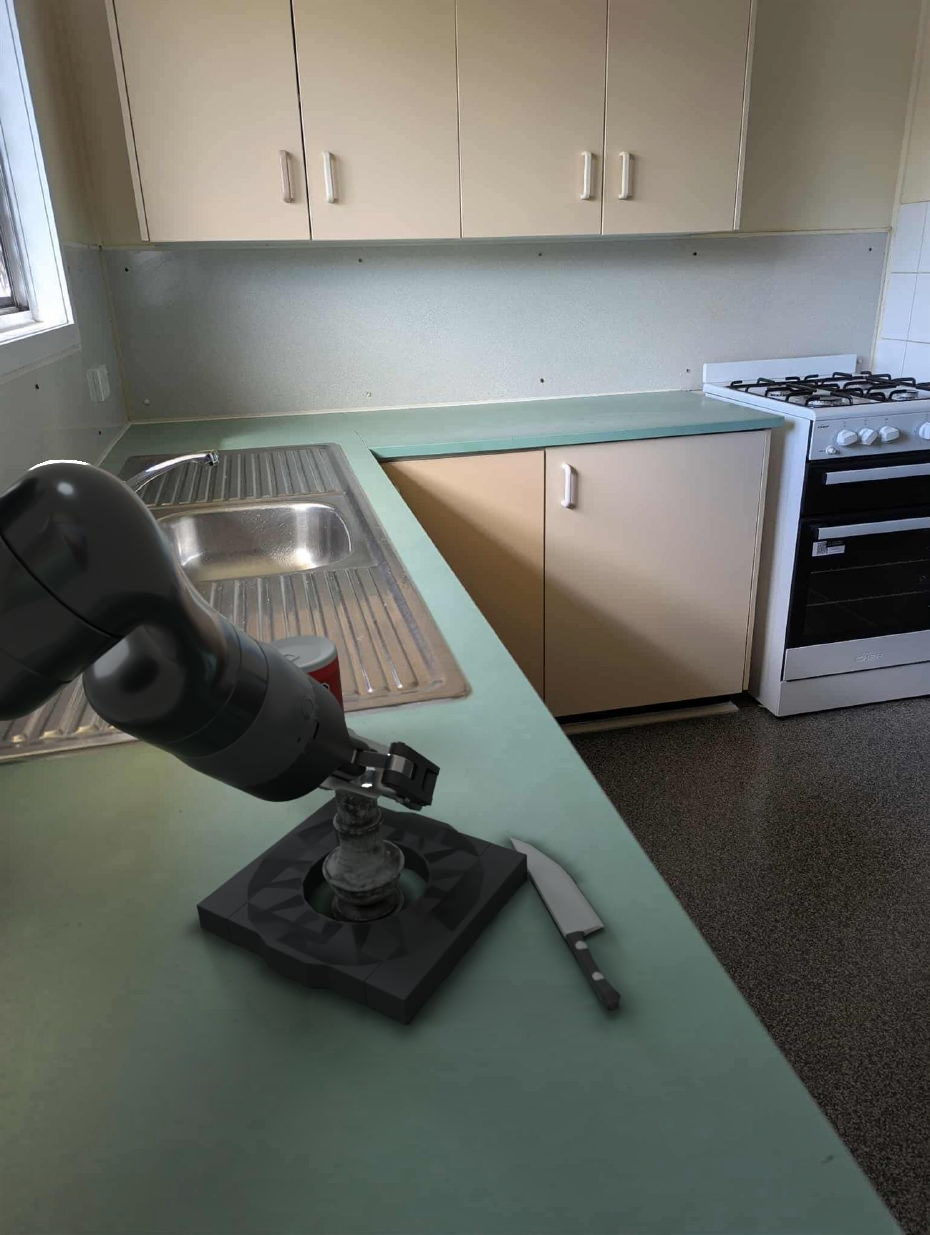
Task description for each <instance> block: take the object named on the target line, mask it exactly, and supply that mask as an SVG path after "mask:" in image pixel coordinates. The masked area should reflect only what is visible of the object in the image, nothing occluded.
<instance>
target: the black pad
mask: <svg viewBox="0 0 930 1235" xmlns="http://www.w3.org/2000/svg"><path fill="white" fill-rule="evenodd" d="M378 807H379V808H380V809H381V810H382V811H383V813H384V820H383V822H382V824H381V833H382V840H386V841H389V842H391V843H393V844H394V845H396V846H397V847H398V848H399V849H400V850H401V851H402V853H403V855H404V867H405V868H408V869H411V870H413V871H415V872H416V874H417V875H419V876H420V877H421V878H422V879H423V880H424V881H426V886H425V889H424V891H423V893H421V894H420V896H418V898H417V899H416V900H415V901H414V902H413V903H412V904H411V905H410V906H409V907H407V908H404V909H402V910H401V911H400V912H399V913H397V914H395V915H393V916H391V917H389V918H385V919H380V920H375V921H370V922H365V923H353V922H340V921H338V920H336V919H332V918H330V917H328V916H325V915H323V914H322V913H321V914H320V913H319V912H316V910H315V909H314V908H313V907H312V906H311V905H310V903H309V900H310V897H311V896H312V893H313V891H314V889H315V888H316V887H317V886H319V885H320V884H321V883H322V882H323V881H324V880H326V879H325V877H324V874H323V870H322V869H323V863H324V861H325V859H326V857H327V856H328V855H329V854H330V853H331V852H332V851H333V850H334V849H336V848H337V847H339V846H340V838H339V831H338V830H337V829H336V828H335V827H334V824H333V820H334V817H335V815H336V814H337V813H338V812H337V803H336V795H334V796H333V797H332V798H331V799H330V800H328V801H327V802H326V803H324V804H323V805H322V806H321V807H320V808H318V809H317V810H316V811H315V812H313V813H312V814H310V816H308V817H307V818H306V819H304V820H303V821H301V823H299V824H297V825H296V826H295V827H294V828H293V829H291V830H290V831H289V832H287V833H286V834H285V835H284V836H282V837H281V838H280V839H279V840H277V841H276V842H275V843H274V844H273V845H271V846H270V847H268V848H267V849H266V850H264V851H263V852H262V853H261V854H259V855H258V856H257V857H256V858H255V859H253V860H252V861H251V862H249V863H248V864H247V865H245V867H243V868H242V869H240V870H239V871H237V873H235V874H233V876H232V877H229V879H228V880H226V881H225V882H224V883H223V884H221V885H220V886H219V887H218V888H216V889H215V890H213V891H212V892H211V893H210V894H208V895H207V896H206V897H205V898H203V899H202V900H201V901H199V903H197V904H196V910H197V915H198V921H199V925H200V928H201V929H204V930H206V931H208V932H210V933H212V934H214V935H216V936H218V937H220V938H223V939H224V940H227V941H229V942H231V943H233V944H236V945H238V946H240V947H242V948H244V949H246V950H248V951H250V952H252V953H255V954H257V955H259V956H261V957H262V958H263V959H264V961H265V962H266V963H267V965H268V966H269V968H270V969H272V970H274V971H275V972H277V973H279V974H282V975H284V976H285V977H288V978H290V979H292V980H294V981H296V982H298V983H301V984H302V985H305V986H307V987H311V988H316V989H330V990H333V991H335V992H337V993H338V994H341V995H343V996H345V997H347V998H350V999H352V1000H354V1001H356V1002H358V1003H360V1004H362V1005H364V1006H367V1007H369V1008H371V1009H373V1010H375V1011H377V1012H379V1013H382V1014H383V1015H386V1016H387V1017H390V1018H392V1019H394V1020H396V1021H398V1022H401V1023H402V1024H404V1025H408V1024H409V1022H411V1020H412V1019H413V1017H414V1016H415V1015H416V1014H417V1013H418V1012H419V1010H420V1009H421V1007H423V1005H424V1004H425V1003H426V1001H427V1000H429V998H430V996H432V994H433V993H434V991H435V990H436V989H437V988H438V987H439V986H440V984H441V983H442V982H443V980H444V979H445V978H446V977H447V976H448V974H449V973H450V972H451V971H452V970H453V969H454V967H455V966H456V965H457V963H458V962H459V961H460V960H461V958H462V957H463V956H464V955H465V953H467V951H468V950H469V948H470V947H471V946H472V945H473V944H474V942H475V941H476V940H477V939H478V938H479V936H480V935H481V934H482V933H483V931H484V930H485V929H486V928H487V926H488V925H489V924H490V923H491V922H492V920H493V919H494V918H495V917H496V916H497V914H498V913H499V912H500V911H501V909H502V908H503V907H504V905H505V904H506V903H507V902H508V901H509V899H510V898H511V897H512V896H513V894H514V893H516V891H517V890H518V888H519V887H520V886H521V885H522V883H524V881H525V880H526V879H527V877H528V875H529V873H528V871H527V854H524V853H521V852H518V851H516V849H511V848H509V847H505V846H502V845H499V844H496V843H494V842H491V841H487V840H485V839H481V838H478V837H476V836H472V835H470V834H467V833H463V832H460V831H458V830H457V829H456V828H455V827H454V826H452V825H451V824H449V823H447V822H444V821H441V820H438V819H435V818H432V817H429V816H426V815H422V814H419V813H417V812H412V811H397V810H394V809H390V808H387V807H384V806H381V805H378Z"/></svg>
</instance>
